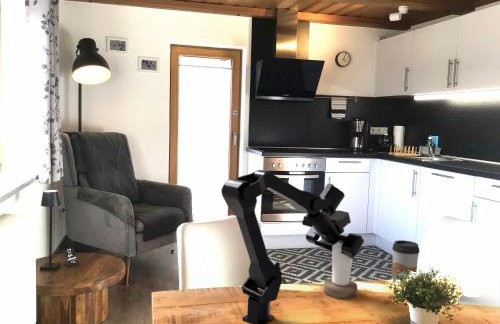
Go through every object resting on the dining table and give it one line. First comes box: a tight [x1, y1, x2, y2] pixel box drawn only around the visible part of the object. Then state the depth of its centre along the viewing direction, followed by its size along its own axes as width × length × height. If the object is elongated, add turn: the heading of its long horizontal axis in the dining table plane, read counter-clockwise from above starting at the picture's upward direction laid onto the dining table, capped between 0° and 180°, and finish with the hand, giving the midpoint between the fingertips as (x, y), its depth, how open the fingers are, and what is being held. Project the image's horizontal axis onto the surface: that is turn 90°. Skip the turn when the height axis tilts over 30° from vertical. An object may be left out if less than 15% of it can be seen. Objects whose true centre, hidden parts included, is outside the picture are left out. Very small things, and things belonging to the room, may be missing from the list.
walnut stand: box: [323, 277, 358, 301], centre depth 141 cm, size 10×10×3 cm
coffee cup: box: [391, 239, 420, 284], centre depth 146 cm, size 8×8×15 cm
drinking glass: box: [331, 233, 354, 286], centre depth 141 cm, size 7×7×15 cm
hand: (345, 254), depth 141 cm, fingers closed on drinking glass, 6 cm apart
